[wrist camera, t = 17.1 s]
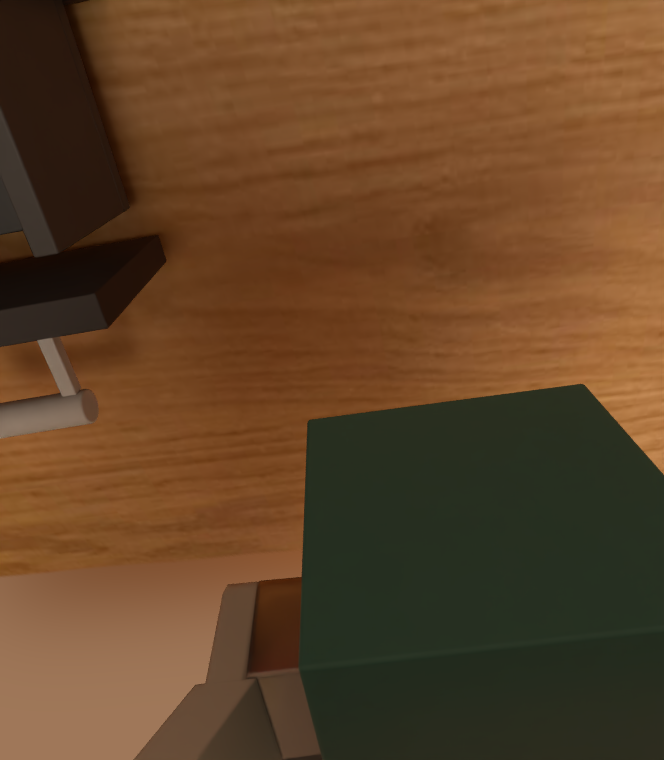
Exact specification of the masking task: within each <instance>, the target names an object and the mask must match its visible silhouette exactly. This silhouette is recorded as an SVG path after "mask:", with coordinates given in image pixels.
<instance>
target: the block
mask: <svg viewBox="0 0 664 760" xmlns="http://www.w3.org/2000/svg"><path fill="white" fill-rule="evenodd" d="M298 669H299V672H300V676H301V680H302V684H303V688H304V692H305V695H306V699H307V703H308V707H309V711H310V714H311V718H312V722H313V726H314V730H315V733H316V737H317V741H318V745H319V749H320V752H321V756H322V760H664V475H663V473H662V472H661V471H660V470H659V469H658V468H657V467H656V466H655V464H654V463H653V462H652V461H651V460H650V459H649V458H648V456H647V455H646V454H645V453H644V452H643V451H642V450H641V449H640V447H639V446H638V445H637V444H636V443H635V442H634V441H633V439H632V438H631V437H630V436H629V435H628V434H627V433H626V432H625V430H624V429H623V428H622V427H621V426H620V425H619V424H618V422H617V421H616V420H615V419H614V418H613V417H612V416H611V415H610V413H609V412H608V411H607V410H606V409H605V408H604V407H603V405H602V404H601V403H600V402H599V401H598V400H597V399H596V398H595V396H594V395H593V394H592V393H591V392H590V391H589V390H588V388H587V387H586V386H585V385H583V384H577V385H570V386H562V387H554V388H547V389H539V390H532V391H524V392H516V393H509V394H501V395H494V396H486V397H479V398H471V399H463V400H456V401H448V402H441V403H433V404H426V405H418V406H410V407H403V408H395V409H388V410H380V411H372V412H365V413H357V414H350V415H342V416H335V417H327V418H319V419H312V420H309V421H308V423H307V450H306V477H305V504H304V531H303V559H302V584H301V611H300V638H299V665H298Z"/></svg>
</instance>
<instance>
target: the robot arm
mask: <svg viewBox="0 0 664 760" xmlns="http://www.w3.org/2000/svg"><path fill="white" fill-rule="evenodd" d="M301 584H302V577H296V578H286V579H274V580H264V581H259V582H249V583H239V584H228V585H227V587H226V589H225V591H224V593H223V595H222V601H221V606H220V612H219V616H218V621H217V626H216V632H215V637H214V642H213V648H212V653H211V658H210V663H209V668H208V673H207V679H206V683H205V684H198V685H195V686H194V687H193V688H192V690H191V691H190V692H189V693H188V694H187V696H186V697H185V698H184V699H183V700H182V702H181V703H180V704H179V705H178V707H177V708H176V709H175V710H174V711H173V713H172V714H171V715H170V716H169V717H168V719H167V720H166V721H165V722H164V723H163V725H162V726H161V727H160V728H159V730H158V731H157V732H156V733H155V734H154V736H153V737H152V738H151V739H150V740H149V742H148V743H147V744H146V746H145V747H144V748H143V749H142V750H141V752H140V753H139V754H138V755H137V756H136V758H135V759H134V760H282V759H289V758H296V757H304V756H311V755H319V754H321V752H320V749H319V745H318V741H317V737H316V733H315V730H314V726H313V722H312V718H311V714H310V711H309V707H308V703H307V699H306V695H305V692H304V688H303V684H302V680H301V676H300V672H299V669H298V665H299V638H300V611H301Z"/></svg>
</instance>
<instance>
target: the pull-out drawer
mask: <svg viewBox="0 0 664 760" xmlns="http://www.w3.org/2000/svg"><path fill="white" fill-rule="evenodd" d="M129 208H130V206H129V203H128V200H127V196H126V193H125V190H124V187H123V184H122V181H121V178H120V175H119V172H118V169H117V166H116V163H115V160H114V157H113V154H112V151H111V148H110V145H109V142H108V139H107V136H106V133H105V130H104V126H103V123H102V120H101V117H100V114H99V111H98V108H97V105H96V102H95V99H94V96H93V93H92V90H91V87H90V84H89V81H88V78H87V75H86V72H85V69H84V66H83V63H82V60H81V56H80V53H79V50H78V47H77V44H76V41H75V38H74V35H73V32H72V29H71V26H70V23H69V20H68V17H67V14H66V11H65V8H64V5H63V2H62V0H0V235H2V234H7V233H12V232H18V231H24V234H25V236H26V239H27V241H28V243H29V246H30V248H31V250H32V253H33V255H34V258H28V259H23V260H17V261H12V262H6V263H1V264H0V347H2V346H8V345H14V344H20V343H26V342H31V341H37V342H38V344H39V346H40V348H41V351H42V353H43V355H44V357H45V359H46V362H47V364H48V366H49V368H50V371H51V373H52V375H53V377H54V379H55V382H56V384H57V386H58V388H59V391H60V393H58V394H52V395H46V396H40V397H34V398H28V399H22V400H16V401H10V402H4V403H0V438H6V437H12V436H18V435H24V434H30V433H37V432H43V431H49V430H55V429H61V428H67V427H74V426H80V425H86V424H92V423H94V422H95V421H96V420H97V418H98V412H99V409H98V402H97V399H96V397H95V395H94V393H93V392H92V391H91V390H89V389H82V390H80V389H81V386H80V384H79V381H78V379H77V377H76V374H75V372H74V370H73V367H72V365H71V363H70V360H69V358H68V356H67V353H66V351H65V349H64V346H63V344H62V342H61V339H60V336H66V335H72V334H78V333H84V332H89V331H95V330H101V329H107V328H109V326H110V325H111V324H112V323H113V322H114V321H115V320H116V318H117V317H118V316H119V315H120V314H121V313H122V312H123V310H124V309H125V308H126V307H127V306H128V305H129V304H130V302H131V301H132V300H133V299H134V298H135V297H136V296H137V294H138V293H139V292H140V291H141V290H142V289H143V288H144V286H145V285H146V284H147V283H148V282H149V281H150V280H151V278H152V277H153V276H154V275H155V274H156V273H157V272H158V270H159V269H160V268H161V267H162V266H163V265H164V264H165V262H166V258H165V255H164V252H163V248H162V245H161V242H160V239H159V236H158V235H155V236H149V237H144V238H138V239H133V240H127V241H122V242H116V243H111V244H105V245H100V246H94V247H89V248H83V249H78V250H72V251H67V252H62V251H63V250H65V249H66V248H68V247H69V246H71V245H73V244H74V243H76V242H77V241H79V240H80V239H82V238H84V237H85V236H87V235H88V234H90V233H91V232H93V231H94V230H96V229H98V228H99V227H101V226H102V225H104V224H105V223H107V222H109V221H110V220H112V219H113V218H115V217H116V216H118V215H120V214H121V213H123V212H125V211H126V210H128V209H129ZM60 252H61V253H60Z"/></svg>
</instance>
